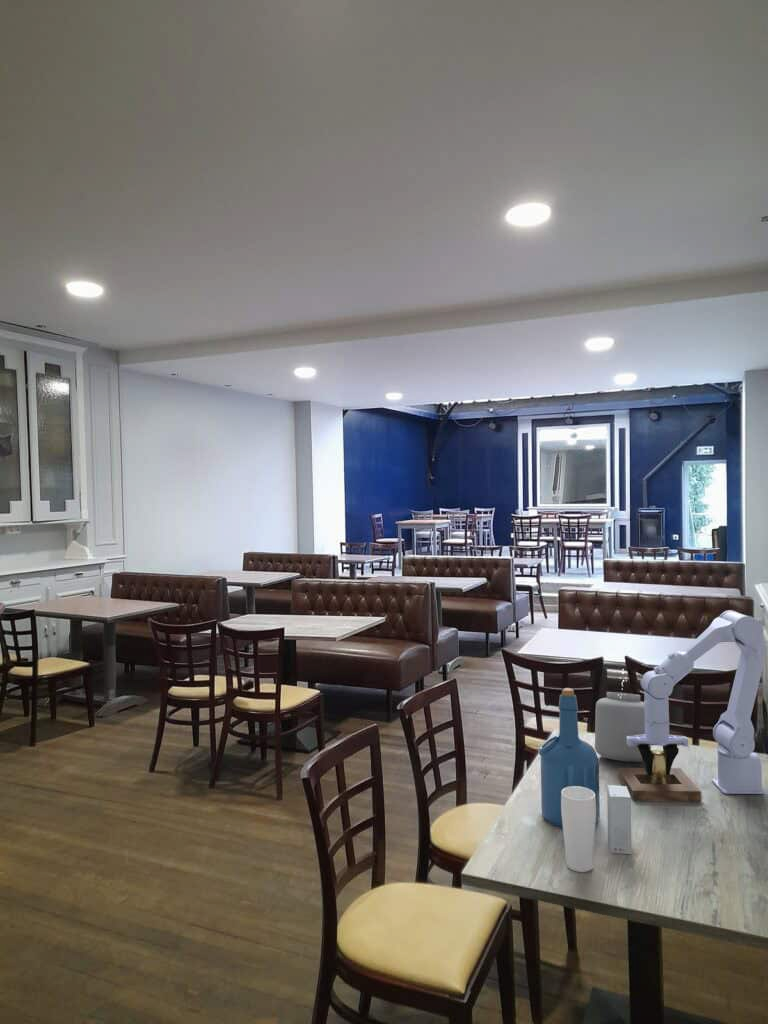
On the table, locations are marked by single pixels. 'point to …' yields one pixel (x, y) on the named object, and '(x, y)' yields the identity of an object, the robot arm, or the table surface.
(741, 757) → the robot arm
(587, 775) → the wine bottle
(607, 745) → the jar
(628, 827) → the skincare box
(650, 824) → the table surface
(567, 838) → the drinking glass
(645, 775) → the jig plate
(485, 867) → the table surface
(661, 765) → the brass peg
